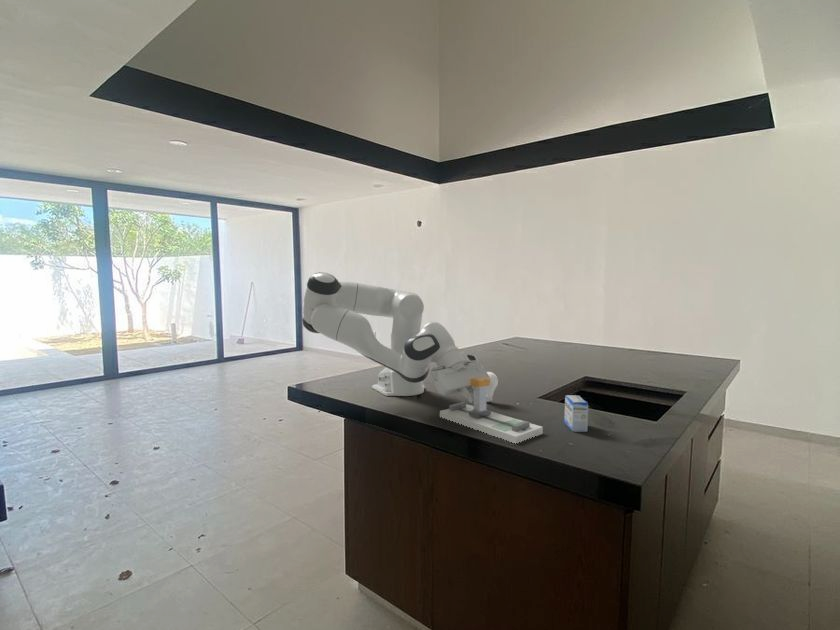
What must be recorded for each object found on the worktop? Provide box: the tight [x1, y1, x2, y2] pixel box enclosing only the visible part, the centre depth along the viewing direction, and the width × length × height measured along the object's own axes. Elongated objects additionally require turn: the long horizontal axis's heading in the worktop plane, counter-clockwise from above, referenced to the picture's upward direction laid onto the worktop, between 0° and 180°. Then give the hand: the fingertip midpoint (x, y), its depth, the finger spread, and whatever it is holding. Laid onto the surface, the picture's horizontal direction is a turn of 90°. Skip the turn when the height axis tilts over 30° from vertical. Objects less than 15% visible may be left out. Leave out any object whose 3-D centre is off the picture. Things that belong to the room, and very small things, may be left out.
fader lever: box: [469, 377, 492, 418], centre depth 134 cm, size 4×6×11 cm
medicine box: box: [563, 394, 589, 433], centre depth 129 cm, size 8×4×9 cm, turn 178°
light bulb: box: [486, 371, 499, 404], centre depth 155 cm, size 7×7×11 cm
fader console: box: [439, 401, 544, 445], centre depth 132 cm, size 30×12×4 cm, turn 40°
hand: (474, 400), depth 135 cm, fingers closed, pressing on fader lever
